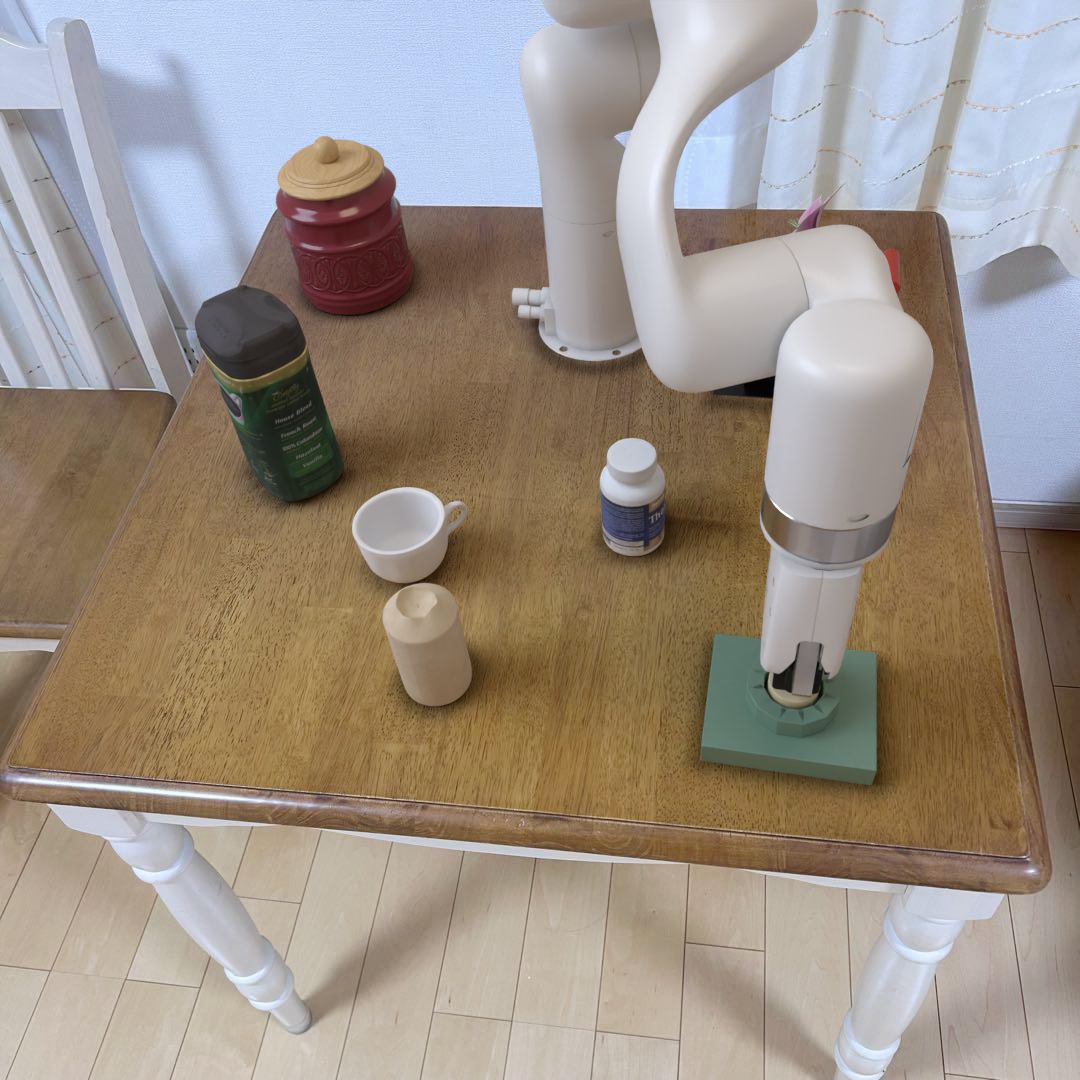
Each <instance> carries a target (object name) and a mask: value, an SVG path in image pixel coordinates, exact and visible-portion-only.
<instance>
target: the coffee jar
mask: <svg viewBox="0 0 1080 1080" xmlns="http://www.w3.org/2000/svg"><path fill="white" fill-rule="evenodd" d="M194 329H195V333H196V338H197V339H198V343H199V346H200V348H201V350H202V353H203V355H204V357H205V360H206V361H207V363H208V366H209V368H210V370H211V373H212V375H213V377H214V379H215V382H216V384H217V387H218V389H219V392H220V394H221V396H222V399H223V401H224V404H225V407H226V410H227V412H228V415H229V418H230V420H231V422H232V424H233V427H234V430H235V432H236V435H237V438H238V440H239V443H240V445H241V449H242V451H243V453H244V456H245V458H246V461H247V464H248V466H249V468H250V470H251V472H252V474H253V476H254V477H255V478H256V480H257V481H258V482H259V483H260V485H261V486H262V487H263V488H264V489H265V490H266V491H267V492H268V493H270V494H271V495H272V497H275V498H276V499H278V500H280V501H283V502H296V501H297V502H298V501H302V500H304V499H307V498H311V497H313V496H315V495H317V494H320V493H322V492H323V491H324V490H327V489H328V488H330V487H331V486H332V485H333V484H334V483H335V482H336V481H337V480H338V479H339V478H340V477H341V476H342V474H343V471H344V468H345V464H344V460H343V456H342V452H341V449H340V447H339V444H338V443H339V442H338V440H337V438H336V435H335V432H334V429H333V426H332V422H331V420H330V417H329V414H328V411H327V407H326V404H325V400H324V398H323V394H322V391H321V389H320V385H319V383H318V379H317V376H316V373H315V370H314V366H313V363H312V360H311V355H310V349H309V345H308V341H307V338H306V336H305V333H304V331H303V328H302V326H301V324H300V321H299V319H298V317H297V315H296V314H295V312H293V311H292V310H291V308H289V306H287V304H286V303H285V302H283V300H281V299H279V297H277V296H276V295H274V294H273V293H272V292H269V291H267V290H264V289H262V288H257V287H253V286H248V285H245V284H241V285H238V286H235V287H233V288H230V289H228V290H225V291H224V292H221V293H219V294H216V295H214V296H212V297H210V298H208V299H206V300H204V301H203V302H202V303H201V306H200V308H199V309H198V311H197V313H196V315H195V319H194Z"/></svg>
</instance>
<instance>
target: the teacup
mask: <svg viewBox="0 0 1080 1080" xmlns="http://www.w3.org/2000/svg"><path fill="white" fill-rule="evenodd" d="M457 508H461V513H460V515H459V516H458V517H457V518H456V519H455V520H453V521H451V522H449V518H450V516H451V514H452V512H453V511H454V510H455V509H457ZM468 514H469V509H468V506H467V505H466V504H465V503H464V502H463V501H461V500H454V501H450V502H448V503H445V504H443V502H442V501H441V500H440V498H439V497H438V496H437V495H435V494H434V493H433V492H431V491H429V490H427V489H423V488H419V487H415V486H413V487H412V486H403V487H395V488H391V489H388V490H385V491H382V492H380V493H378V494H376V495H374V496H372V497H371V498H369V499H368V500H367V501H365V502H364V503H363V504H362V505H361V506H360V507H359V508H358V510H357V512H356V513H355V515H354V517H353V519H352V523H351V532H352V536H353V538H354V540H355V542H356V544H357V547H358V549H359V551H360V553H361V556H363V558H364V561H365V562H366V563H367V566H368V567H369V568H370V570H371V571H372V572H373V573H374V574H375V575H377V576H378V577H379V578H381V579H383V580H386V581H388V582H392V583H396V584H411V583H414V582H415V583H416V582H418V581H421V580H423V579H425V578H427V577H429V576H430V575H431V574H433V573H434V572H435V571H436V570H437V569H438V568H439V567H440V565H441V564H442V562H443V560H444V559H445V556H446V553H447V550H448V545H449V535H451V533H453V531H455V530H456V529H457V528H458V527H459V526H460V525H461V524H463V522H464V521H465V520H466V519H467V517H468Z"/></svg>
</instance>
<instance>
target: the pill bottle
mask: <svg viewBox="0 0 1080 1080" xmlns="http://www.w3.org/2000/svg"><path fill="white" fill-rule="evenodd" d="M599 476H600V477H599V492H600V495H599V496H600V509H601V529H602V537H603V540H604V542H605V544H606V546H607V547H608V548H609V549H611V550H612V551H613V552H615V553H617V554H620V555H623V556H627V557H641V556H645V555H648V554H651V553H652V552H653V551H655V550H656V549H657V548H658V547H659V546H660V545H661V544H662V542H663V540H664V536H665V527H666V526H665V523H666V477H665V476H666V475H665V472H664V470H663V468H662V466H660V464H659V463H658V455H657V450H656V449H655V447H654V446H653V445H652V444H651V443H650V442H649V441H647V440H644V439H641V438H636V437H628V438H623V439H620V440H617V441H616V442H614V443H613V444H612V445H611V446H610V447H609V448H608V450H607V453H606V465H605V466H604V467H603V469H602V470H601V474H600V475H599Z"/></svg>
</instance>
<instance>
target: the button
mask: <svg viewBox="0 0 1080 1080" xmlns="http://www.w3.org/2000/svg"><path fill="white" fill-rule="evenodd" d="M772 681H773V673H771V672H770V674H769V679H768V685H767V693H768V695H769V697H770V699H771V700H773V701H774V702H776V703H778V704H779V705H781V706H782V707H784V708H790V709H797V710H801V709H804V708H807V707H810V706H813V705H815V704H816V702H817V698H818V694H819V692H818V693H817V694H812V696H811V697H804V696H796V695H792V693H789V692H787V691H786V690H779V689H774V688H773V687H772ZM819 689H820V688H819Z"/></svg>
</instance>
